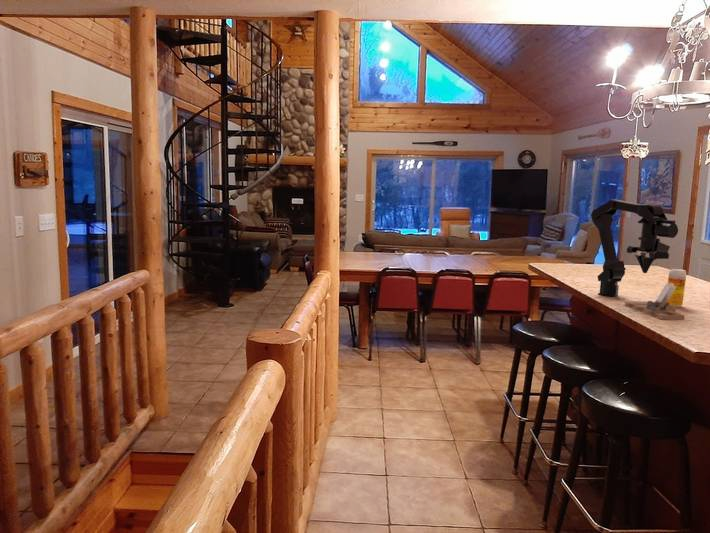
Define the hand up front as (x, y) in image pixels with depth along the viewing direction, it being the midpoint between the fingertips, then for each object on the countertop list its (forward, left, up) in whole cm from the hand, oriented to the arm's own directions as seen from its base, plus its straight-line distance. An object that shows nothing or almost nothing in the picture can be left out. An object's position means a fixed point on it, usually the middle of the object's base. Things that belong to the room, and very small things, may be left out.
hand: (644, 272), depth 218 cm
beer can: (+10, +7, -13) cm, 18 cm away
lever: (+10, -13, -10) cm, 20 cm away
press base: (+8, -12, -13) cm, 19 cm away
